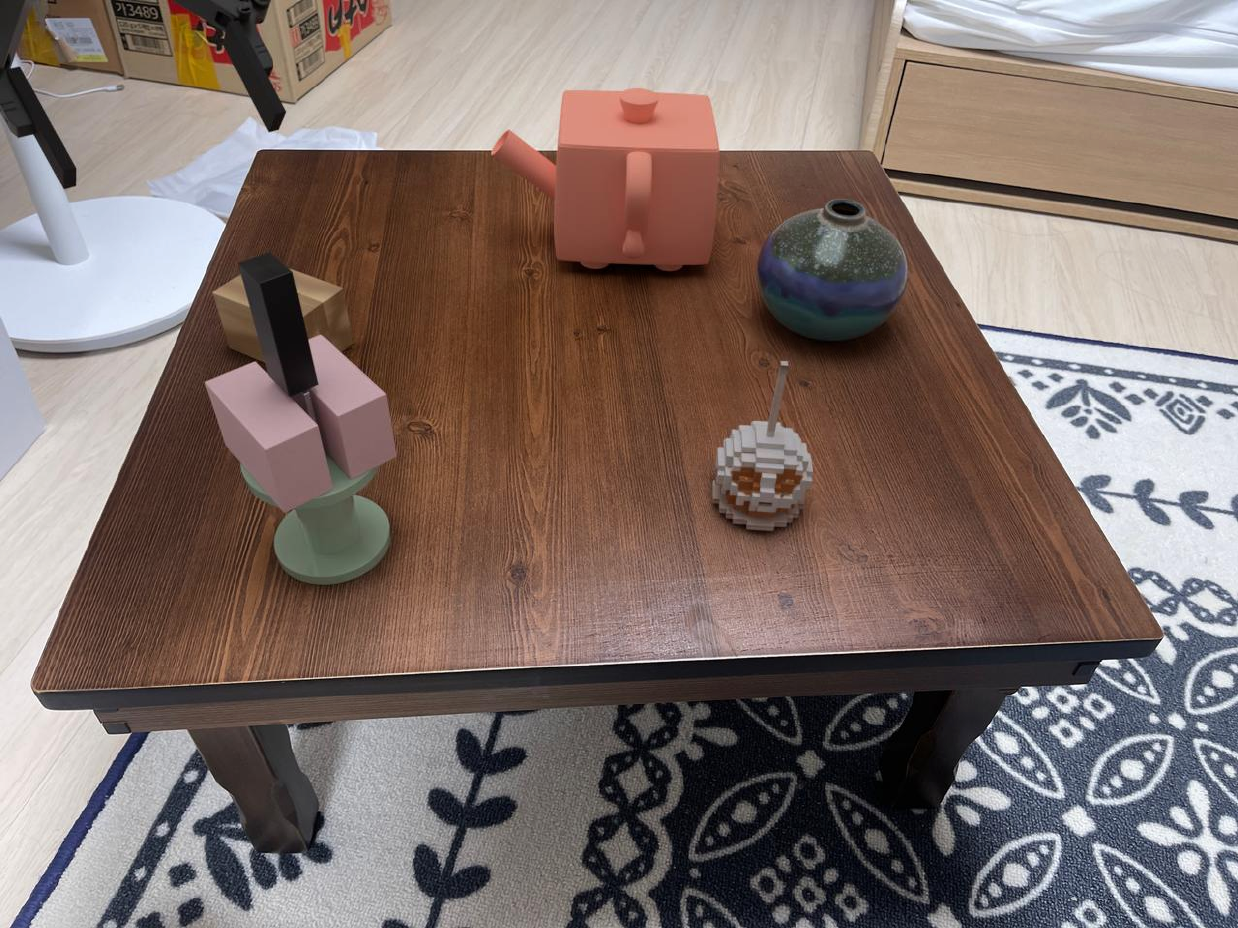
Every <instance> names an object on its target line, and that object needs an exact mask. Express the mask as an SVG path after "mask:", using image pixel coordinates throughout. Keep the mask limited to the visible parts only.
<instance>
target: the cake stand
mask: <svg viewBox="0 0 1238 928" xmlns="http://www.w3.org/2000/svg"><path fill="white" fill-rule="evenodd" d="M324 452H325V451H324ZM325 456H326V460H327V464H328V469H329V473H330V477H331V481H332V485H333V489H332V490H330V491H328V492H326V493H324V494H322V495H320V496H318V497H316V498H314V499H312V500H310V501H308V502H306V503H304V504H302V505H300V506H298V507H296V508H294V509H292V510H290V511H289V513H288V514H286V516H284V517H283V518H282V520H281V522H280V523H279V524H278V527H277V529H276V531H275V533H274V538H273V548H274V553H275V555H276V559H277V561H278V564H279V565H280V567H281V568H282V570H283V571H284V572H285V573H286V574H288V576H291V578H294V579H295V580H298V581H299V582H303V583H305V584H310V585H316V586H329V585H337V584H342V583H346V582H349V581H352V580H355V579H357V578H359V577H361V576H363V575H365V574H366V573H368V572H370V571H371V570H372V569H373V568H375V567H376V566H377V565H378V564H379V563H380V562H381V561H382V559H383V558H384V557H385V555H386V553H387V552H388V549H389V547H390V545H391V539H392V532H391V526H390V521H389V518H388V515H387V514H386V512H385V511H384V510H383V508H382V507H381V506H379V505H378V504H377V503H376V502H374V501H373V500H371V499H370V498H368V497H365V496H361V495H358V494H357V493H359V492H360V491H361V490H363V489H364V488H365V487H366V486H367V485H369V484H370V482H371V481H372V480H373V479H374V478H375V476H377V473H378V472H379V469H380V467H381V465H379V466H377V467H375V468H373V469H371V470H369V471H367V472H365V473H363V474H361V475H359V476H357V477H355V478H353V479H351V478H350V477H349V476H348V475H347V474H346V473H345V472H344V471H343V470H342V469H341V468H340V467H339V466H338V465H337V464H336V463H335V462H334V461H333V460H332V459H331V458H330V456H329V455H328V454H327V453H326V452H325ZM239 467H240V472H241V475H242V478H243V481H244V484H245V485H246V487H247V488H248V490H249V492H250V493H252V495H254V496H255V497H256V498H258V499H259V500H260V501H263V502H264V503H266V504H268V505H271V506H273V507H277V508H279V507H278V505H277V504H276V503H275V502H274V501H273V500H272V498H271V497H270V496H269V495H268V494H267V493H266V492H265V490H264V489H263V488H262V487H261V486H260V485H259V483H258V482H257V481H256V480H255V479H254V478H253V476H252V475H251V474H250V473H249V472H248V471H247V469H246V468H245V467H244V466H243V465H242V464H241V462H240V461H239Z"/></svg>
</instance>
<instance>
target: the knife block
mask: <svg viewBox="0 0 1238 928" xmlns="http://www.w3.org/2000/svg"><path fill="white" fill-rule="evenodd" d="M288 268H289V267H288ZM289 269H290V270H291V271H292V272H293V276H294V280H295V284H296V289H297V293H298V297H299V302H300V306H301V310H302V314H303V319H304V323H305V327H306V332H307V336H308V340H309V339H311V338H314V337H316V336H319V335H322V336H323V337H325V338H326V339H327V340H328V341H329V342H330V343H331V344H332V345H333V346H334V347H335V348H337V349H338V350H339V351H340V352H341V353H342V354H343V352H345V351H346V350H347V349H349V347H351V346H352V345H353V344H354V338H353V333H352V329H351V328H352V327H351V323H350V317H349V312H348V307H347V301H346V296H345V291H344V288H343V287H341V286H338V285H336V284H333V283H331V282H327V281H325V280H322V279H320V278H317V277H314V276H311V275H309V274H306V273H304V272H300V271H298V270H294V269H292V268H289ZM212 296H213V299H214V301H215V303H214V304H215V306H216V309H217V312H218V316H219V318H220V322H221V325H222V329H223V332H224V335H225V339H226V342H227V345H228V348H229V349H231V350H234V351H236V352H239V353H241V354H244V355H246V356H248V357H249V358H253V359H254V360H258V361H259V362H262V363H265V360H264V357H263V353H262V349H261V346H260V342H259V339H258V335H257V331H256V328H255V324H254V321H253V317H252V313H251V310H250V306H249V302H248V299H247V295H246V292H245V288H244V284H243V281H242V277H241V273H240V274H239V275H237V276H236V277H234V278H233V279H231V280H229V281H228V282H226V283H225V284H223V285H222V286H220V287H217V289H215V290H213V291H212Z"/></svg>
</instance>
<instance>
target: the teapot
mask: <svg viewBox="0 0 1238 928" xmlns="http://www.w3.org/2000/svg"><path fill="white" fill-rule="evenodd" d="M560 103H561V104H560V113H559V125H558V137H557V149H556V164H554V163H553V162H552V161H550V160H549V159H548V158H547V157H545V156H544V155H543V154H541V153H540V152H539V151H537V150H536V149H535V148H534V147H533V146H531V145H530V144H529V143H527V142H526V141H525V140H523V139H522V138H521V137H519V136H518V135H517V134H515V133H514V132H513V131H512V130H511V129H507V130H505V131H504V132H503V133H502V135H500V137H499V138H498V139H497V141H496V142H495V144H494V146H493V148H492V149H491V152H490V153H491V154H490V156H492V157H493V158H495V159H496V160H497V161H499V162H500V163H501V164H503V165H504V166H506V167H507V168H509V169H510V170H512V171H513V172H514V173H515V174H517V175H518V176H520V177H521V178H523V179H524V180H525V181H527V182H528V183H530V184H531V185H532V186H533V187H535V188H537V189H538V190H540V192H542V193H544V194H545V195H546V196H548V197H549V198H551V199H552V200H553V201H554V210H553V211H554V212H553V234H554V236H553V237H554V246H555V247H554V248H555V255H556V260H558V261H566V262H580V265H582V266H583V267H585V268H588V269H593V270H597V269H598V270H599V269H604V268H606V267H607V266H609V265H610V264H622V265H654V266H655V268H657V269H659V270H661V271H665V272H674V271H678V270H680V269H681V268H683V266H699V265H708V264H709V262H710V258H711V255H712V250H713V245H714V237H715V230H716V219H717V208H718V207H717V206H718V193H719V192H718V191H719V171H720V144H719V140H718V133H717V128H716V122H715V116H714V113H713V107H712V103H711V100H710V97H709V95H706V94H697V93H696V94H695V93H694V94H692V93H677V92H658V91H657V92H656V91H653V90H651V89H648V88H643V87H641V88H640V87H633V88H627V89H624V90H600V89H599V90H597V89H596V90H594V89H566V90H564V91H563V92H562V96H561V102H560Z"/></svg>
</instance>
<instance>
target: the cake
mask: <svg viewBox="0 0 1238 928" xmlns="http://www.w3.org/2000/svg"><path fill="white" fill-rule="evenodd" d="M309 345H310V349H311V353H312V358H313V362H314V366H315V371H316V375H317V379H318V384H319V385H317V386H314V387H312V388H310V389H308V390H307V391H308V392H309V394H310V398H311V402H312V406H313V410H314V414H315V419H316V423H317V424H316V423H315V422H314V421H313V420H312V419H311V418H310V417H309V416H308V415H307V414H306V413H305V412H304V411H303V410H302V408H301V407H300V406H299V405H298V404H297V403H296V402H295V401H294V400H293V399H292V398H291V397H289V396H288V395H287V394H286V393H285V392H284V391H283V390H282V389H281V388H280V387H279V386H278V385H277V384H276V383H275V382H274V381H273V380H272V379H271V378H270V377H269V375H268V372H267V371H265V369H263V368H262V366H261V365H260V364H258V362H257V361H253V362H250V363H247V364H244V365H243V366H240V367H237V368H236V369H233V370H231V371H228V372H226V373H223V374H221V375H218V376H216V377H213V378H211V379H208V380H206V381H204V386H205V389H206V391H207V394H208V397H209V401H210V402H211V406H212V409H213V412H214V414H215V418H216V420H217V424H218V427H219V429H220V432H221V435H222V438H223V441H224V445H225V447H226V448H227V449H228V450H229V451H230V452H231V454H233V456H234V457H235V458H236V459H237V460H238V461H239V463H240V462H241V464H242V465H243V466H244V467H245V468H246V469H247V471H248V472H249V473H250V474H251V475H252V476H253V478H254V479H255V480H256V481H257V482H258V483H259V485H260V486H261V487H262V488H263V489H264V490H265V492H266V493H267V494H268V495H269V496H270V497H271V498H272V500H273V501H274V502H275V503H276V504H277V505H278V507H277V508H279V509H280V510H281V511H282V513H283V514H286V513H288V512H291V511H292V510H294V508H296V507H298V506H300V505H302V504H304V503H306V502H308V501H310V500H312V499H314V498H316V497H318V496H320V495H322V494H324V493H326V492H328V491H330V490H332V489H333V485H332V481H331V477H330V473H329V469H328V464H327V460H326V456H325V452H326V453H327V454H328V455H329V456H330V458H331V459H332V460H333V461H334V462H335V463H336V464H337V465H338V466H339V467H340V468H341V469H342V470H343V471H344V472H345V473H346V474H347V475H348V476H349V477H350V478H351V479H353V478H355V477H357V476H359V475H361V474H363V473H365V472H367V471H369V470H371V469H373V468H375V467H377V466H379V465H380V466H381V465H383V464H385V463H387V462H389V461H391V460H393V459H395V458H397V450H396V444H395V439H394V433H393V427H392V420H391V415H390V410H389V403H388V398H387V397H388V395H387V393H386V392H385V391H383V389H381V387H380V386H378V385H377V384H376V383H375V382H374V381H373V380H372V379H370V378H369V376H367V375H366V374H365V373H364V372H363V371H362V370H361V369H359V368H358V366H357V365H355V364H354V363H353V362H352V361H351V360H350V359H348V357H347V356H346V355H344V353H343V352H342V353H341V352H340V351H339V350H338V349H337V348H335V347H334V346H333V345H332V344H331V343H330V342H329V341H328V340H327V339H326V338H325V337H323V336H322V335H319V336H316V337H314V338H311V339H309ZM324 451H325V452H324Z"/></svg>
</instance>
